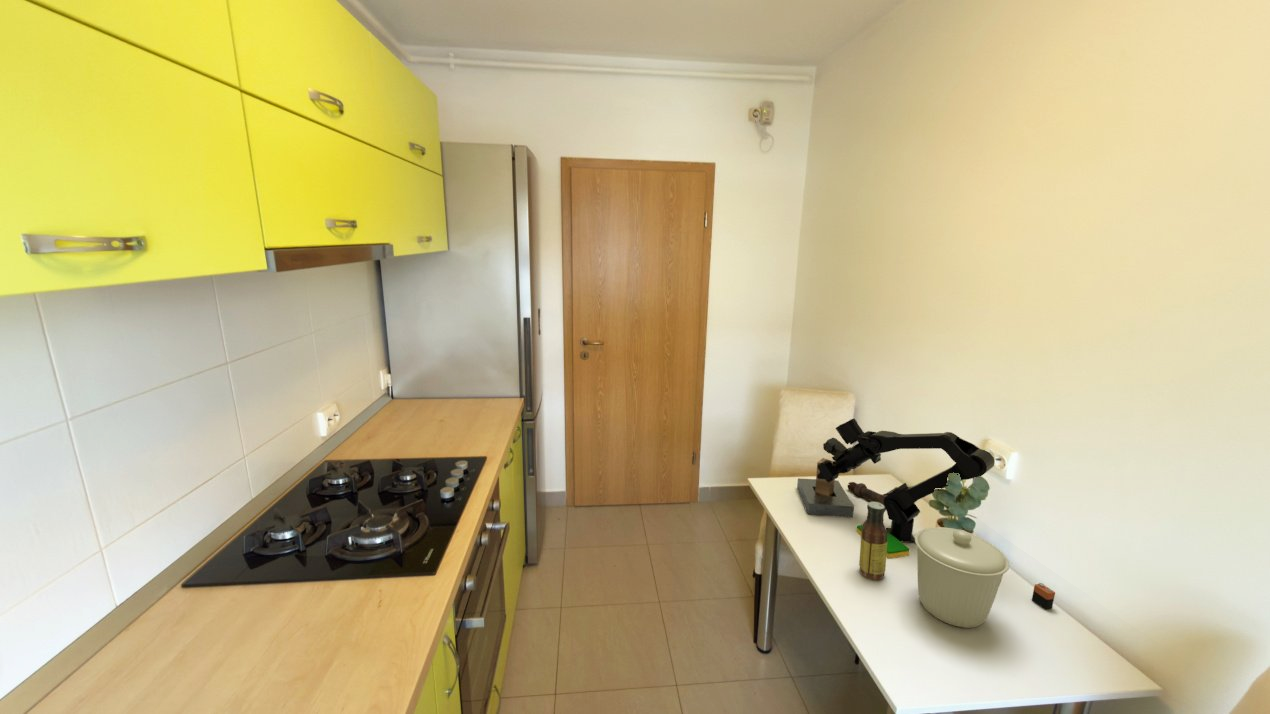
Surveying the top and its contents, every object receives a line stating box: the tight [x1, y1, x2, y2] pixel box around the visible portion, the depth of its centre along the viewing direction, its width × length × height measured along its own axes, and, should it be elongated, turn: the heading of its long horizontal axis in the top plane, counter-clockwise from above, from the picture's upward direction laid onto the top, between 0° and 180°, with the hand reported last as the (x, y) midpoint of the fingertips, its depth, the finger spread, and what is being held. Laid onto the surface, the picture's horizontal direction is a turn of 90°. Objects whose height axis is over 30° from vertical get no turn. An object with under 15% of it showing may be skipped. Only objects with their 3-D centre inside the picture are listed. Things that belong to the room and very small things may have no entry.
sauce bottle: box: [858, 501, 887, 581], centre depth 124 cm, size 7×6×20 cm
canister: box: [914, 526, 1010, 629], centre depth 110 cm, size 18×18×21 cm
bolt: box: [847, 481, 887, 511], centre depth 163 cm, size 6×5×15 cm
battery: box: [1031, 582, 1056, 610], centre depth 114 cm, size 2×3×5 cm, turn 12°
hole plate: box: [796, 477, 855, 519], centre depth 161 cm, size 18×14×4 cm
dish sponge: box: [855, 524, 911, 559], centre depth 139 cm, size 7×14×2 cm, turn 12°
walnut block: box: [815, 457, 836, 496], centre depth 160 cm, size 4×4×12 cm
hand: (821, 475), depth 161 cm, fingers closed on walnut block, 5 cm apart
